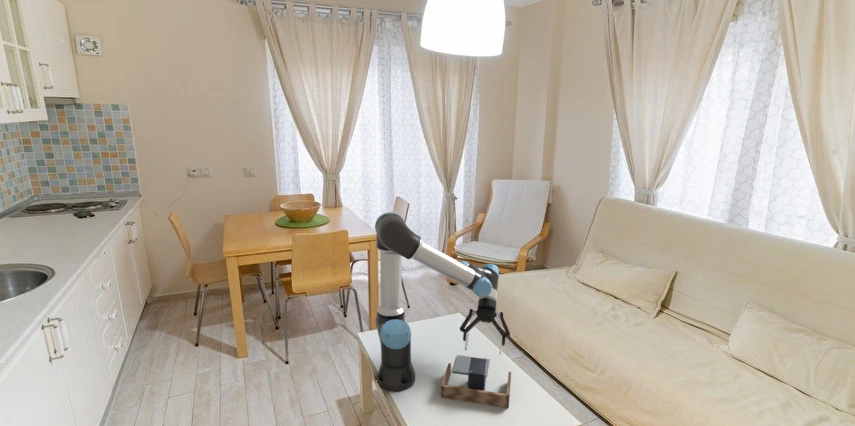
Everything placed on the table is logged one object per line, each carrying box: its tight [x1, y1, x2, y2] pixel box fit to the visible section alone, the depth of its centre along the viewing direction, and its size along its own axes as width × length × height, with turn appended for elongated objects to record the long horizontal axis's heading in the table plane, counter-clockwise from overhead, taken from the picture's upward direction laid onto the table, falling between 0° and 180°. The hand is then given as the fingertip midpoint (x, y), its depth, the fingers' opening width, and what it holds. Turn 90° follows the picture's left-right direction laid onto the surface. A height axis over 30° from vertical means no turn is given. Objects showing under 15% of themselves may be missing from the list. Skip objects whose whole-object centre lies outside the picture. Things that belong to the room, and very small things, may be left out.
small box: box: [467, 356, 487, 391], centre depth 165 cm, size 11×6×10 cm, turn 168°
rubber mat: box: [452, 354, 491, 378], centre depth 181 cm, size 14×12×1 cm
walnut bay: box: [440, 362, 512, 409], centre depth 166 cm, size 25×15×5 cm, turn 77°
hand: (482, 351), depth 171 cm, fingers open, 13 cm apart
